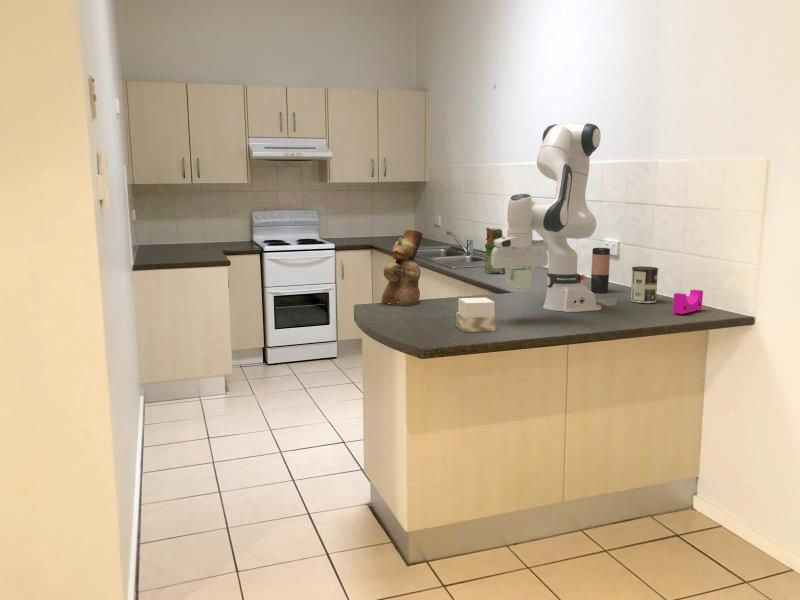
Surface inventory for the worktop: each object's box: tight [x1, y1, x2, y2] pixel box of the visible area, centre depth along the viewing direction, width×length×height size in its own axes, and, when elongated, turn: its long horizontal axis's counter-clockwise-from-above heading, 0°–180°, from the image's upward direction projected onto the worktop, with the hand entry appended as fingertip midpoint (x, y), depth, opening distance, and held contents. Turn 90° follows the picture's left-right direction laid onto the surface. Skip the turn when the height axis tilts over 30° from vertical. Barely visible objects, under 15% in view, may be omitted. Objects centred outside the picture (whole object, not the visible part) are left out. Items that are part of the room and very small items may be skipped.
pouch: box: [484, 227, 506, 275], centre depth 376 cm, size 11×12×25 cm
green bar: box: [507, 267, 532, 289], centre depth 249 cm, size 5×11×6 cm, turn 8°
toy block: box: [672, 289, 704, 315], centre depth 272 cm, size 15×6×8 cm, turn 130°
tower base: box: [455, 311, 497, 333], centre depth 240 cm, size 11×11×5 cm
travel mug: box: [590, 247, 611, 295], centre depth 312 cm, size 8×8×20 cm
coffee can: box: [630, 265, 659, 304], centre depth 291 cm, size 10×10×14 cm
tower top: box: [457, 297, 496, 318], centre depth 239 cm, size 10×10×5 cm
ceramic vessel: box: [380, 229, 423, 307], centre depth 287 cm, size 16×22×30 cm
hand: (519, 279), depth 249 cm, fingers closed on green bar, 5 cm apart
